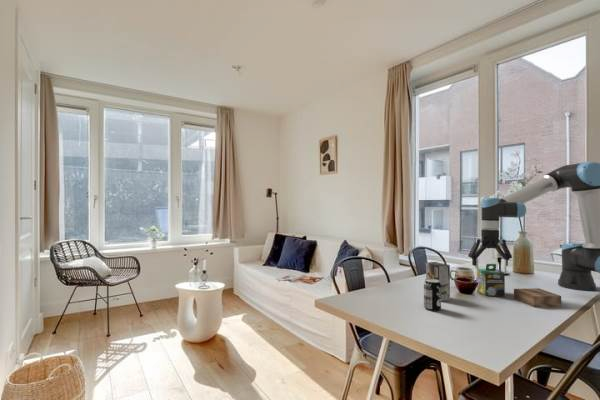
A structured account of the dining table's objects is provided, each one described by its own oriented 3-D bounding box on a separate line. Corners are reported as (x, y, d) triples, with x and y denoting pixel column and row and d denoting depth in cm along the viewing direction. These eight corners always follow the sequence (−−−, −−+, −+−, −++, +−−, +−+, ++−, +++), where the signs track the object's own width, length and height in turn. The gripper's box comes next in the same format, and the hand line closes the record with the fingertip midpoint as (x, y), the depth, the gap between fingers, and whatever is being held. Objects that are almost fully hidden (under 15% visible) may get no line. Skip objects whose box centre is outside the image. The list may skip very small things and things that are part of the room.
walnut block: (539, 299, 146) (538, 288, 146) (561, 307, 134) (561, 296, 134) (513, 299, 146) (513, 288, 146) (534, 308, 134) (533, 296, 134)
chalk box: (495, 291, 158) (495, 261, 158) (505, 296, 149) (505, 265, 149) (476, 290, 159) (476, 261, 159) (485, 296, 150) (485, 265, 150)
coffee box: (450, 300, 144) (450, 265, 144) (439, 301, 142) (439, 265, 142) (436, 294, 152) (436, 261, 152) (425, 295, 150) (425, 262, 150)
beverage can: (440, 307, 134) (440, 279, 134) (441, 312, 128) (441, 282, 128) (423, 305, 136) (423, 277, 136) (424, 310, 130) (424, 281, 130)
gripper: (510, 228, 158) (510, 271, 158) (460, 228, 158) (460, 270, 158) (520, 230, 151) (520, 274, 151) (469, 229, 151) (468, 273, 150)
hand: (489, 272), depth 154 cm, fingers open, 13 cm apart
